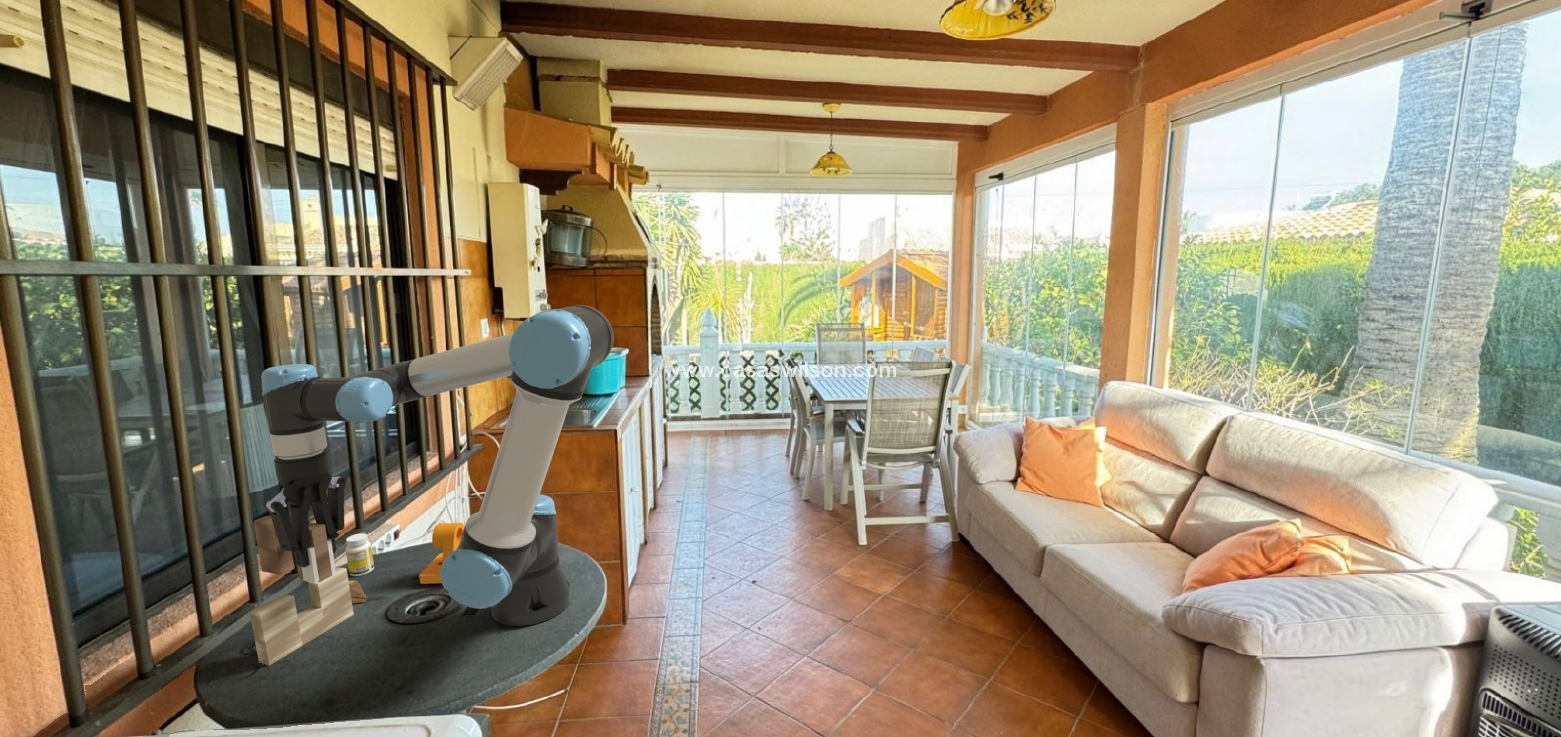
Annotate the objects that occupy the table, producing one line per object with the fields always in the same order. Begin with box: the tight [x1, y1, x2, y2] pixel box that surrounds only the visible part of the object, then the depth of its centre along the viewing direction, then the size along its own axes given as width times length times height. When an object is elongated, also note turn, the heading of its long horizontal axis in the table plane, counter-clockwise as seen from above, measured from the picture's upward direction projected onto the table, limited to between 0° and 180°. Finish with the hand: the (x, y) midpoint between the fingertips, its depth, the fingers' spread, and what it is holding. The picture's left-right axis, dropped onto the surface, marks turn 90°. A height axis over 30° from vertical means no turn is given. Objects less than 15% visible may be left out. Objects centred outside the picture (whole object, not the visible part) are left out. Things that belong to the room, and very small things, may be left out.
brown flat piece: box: [348, 580, 368, 604], centre depth 128 cm, size 11×8×2 cm
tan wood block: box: [253, 515, 332, 582], centre depth 112 cm, size 14×2×10 cm, turn 75°
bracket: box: [418, 522, 465, 585], centre depth 137 cm, size 11×7×12 cm, turn 4°
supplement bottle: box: [345, 533, 375, 577], centre depth 139 cm, size 5×5×8 cm
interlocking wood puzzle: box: [249, 566, 355, 667], centre depth 115 cm, size 2×16×10 cm, turn 165°
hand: (320, 576), depth 112 cm, fingers closed on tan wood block, 2 cm apart
